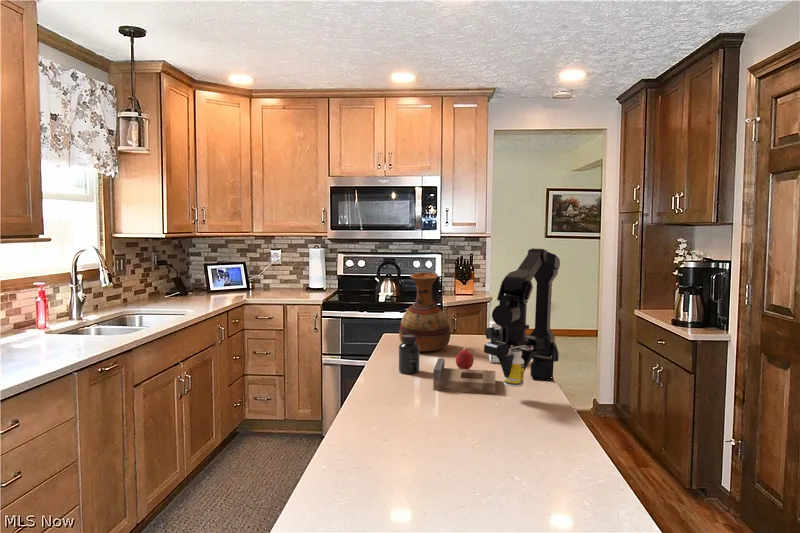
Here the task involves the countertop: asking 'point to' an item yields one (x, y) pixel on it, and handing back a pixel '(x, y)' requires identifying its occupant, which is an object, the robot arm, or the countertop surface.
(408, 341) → the supplement bottle
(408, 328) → the brown ceramic vase
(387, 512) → the countertop surface
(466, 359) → the onion
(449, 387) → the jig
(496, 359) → the syrup box
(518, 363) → the supplement bottle
